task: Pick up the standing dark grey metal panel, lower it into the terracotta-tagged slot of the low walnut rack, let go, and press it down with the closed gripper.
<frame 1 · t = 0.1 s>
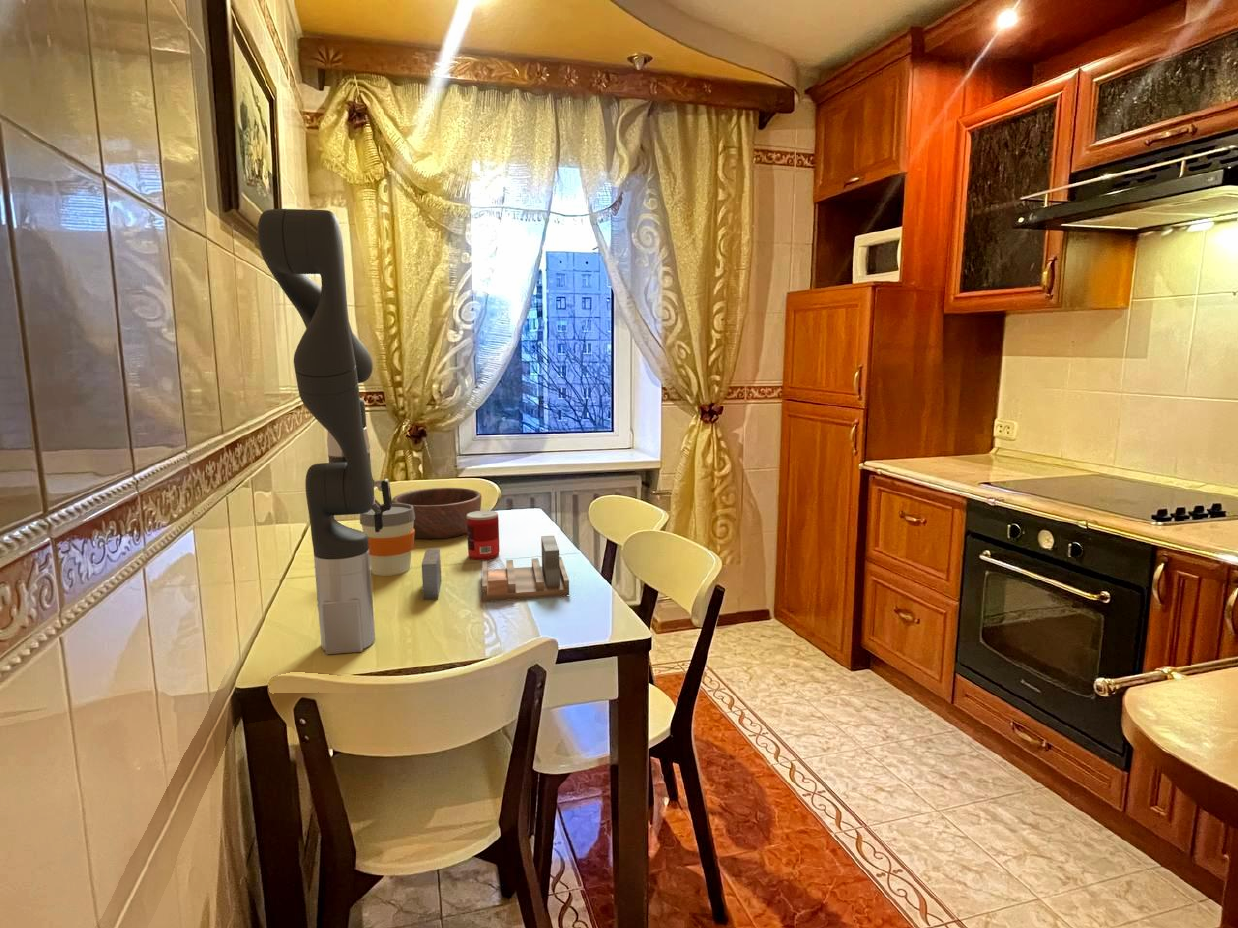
hand: (355, 532, 141), 17 cm above the table, tool pointing down, fingers open, 8 cm apart
reusable coffee cup: (391, 570, 173), on the table
canned food: (484, 556, 183), on the table
panel: (432, 590, 158), on the table
rack: (524, 585, 161), on the table
wooden bowl: (439, 531, 208), on the table
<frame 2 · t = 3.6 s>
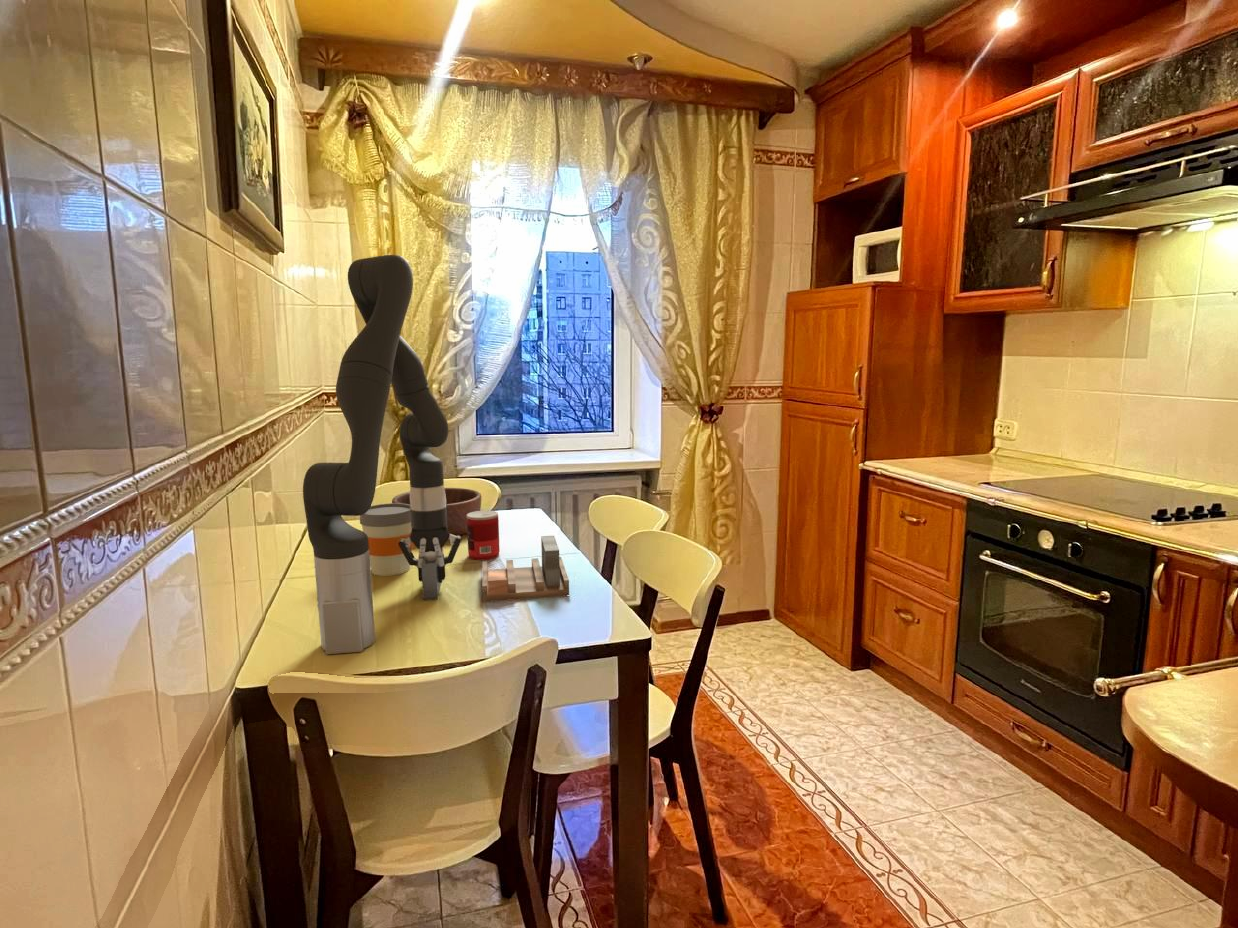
hand: (432, 581, 158), 2 cm above the table, tool pointing down, fingers closed on panel, 3 cm apart
panel: (432, 590, 158), on the table, touching gripper
everything else where it was.
when the fingers open (4 cm above the table, at t = 8.4 s): panel stays where it is, resting on rack.
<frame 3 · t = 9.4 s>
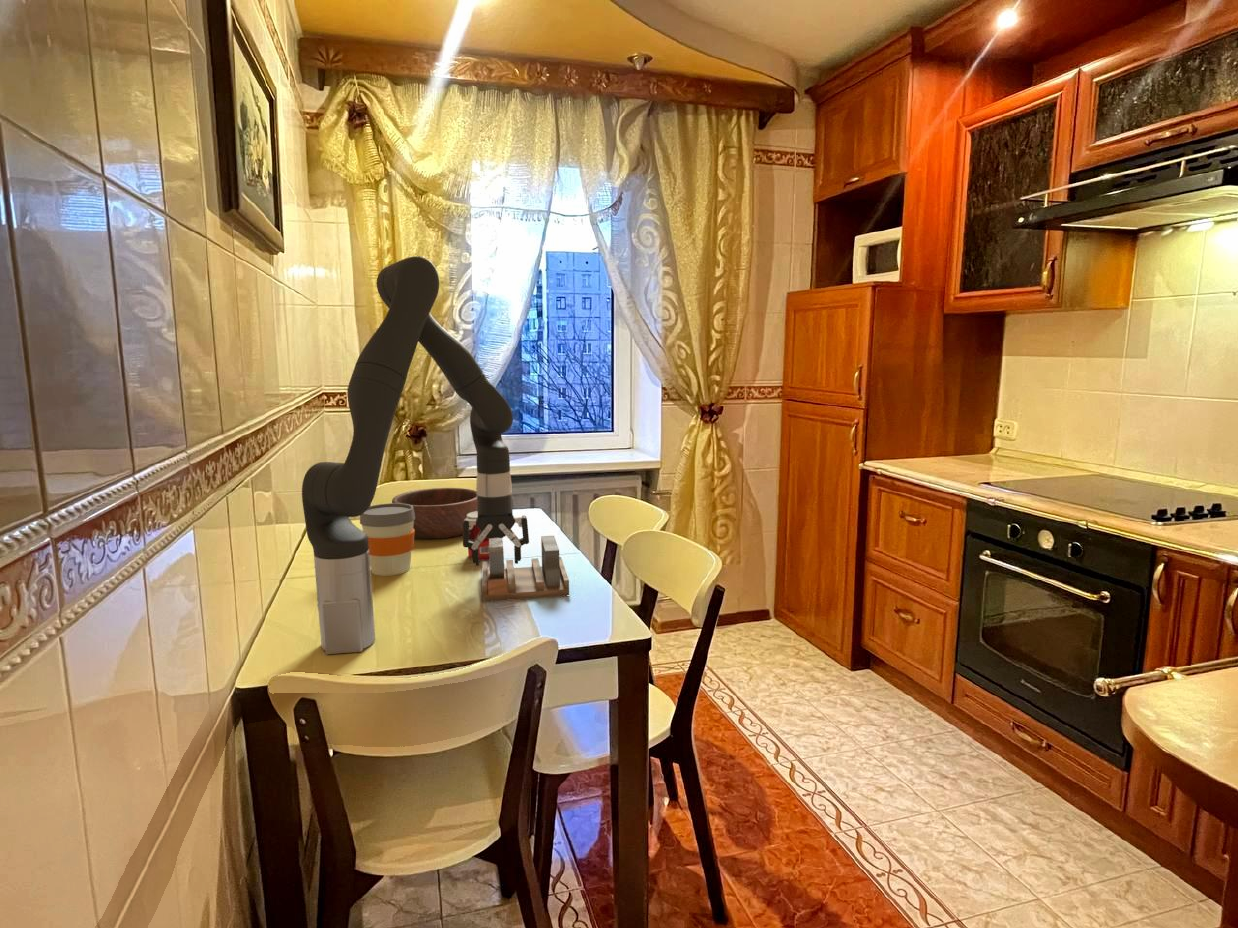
hand: (497, 563, 159), 5 cm above the table, tool pointing down, fingers open, 8 cm apart
panel: (497, 579, 159), point 2 cm above the table, touching rack
everything else where it was.
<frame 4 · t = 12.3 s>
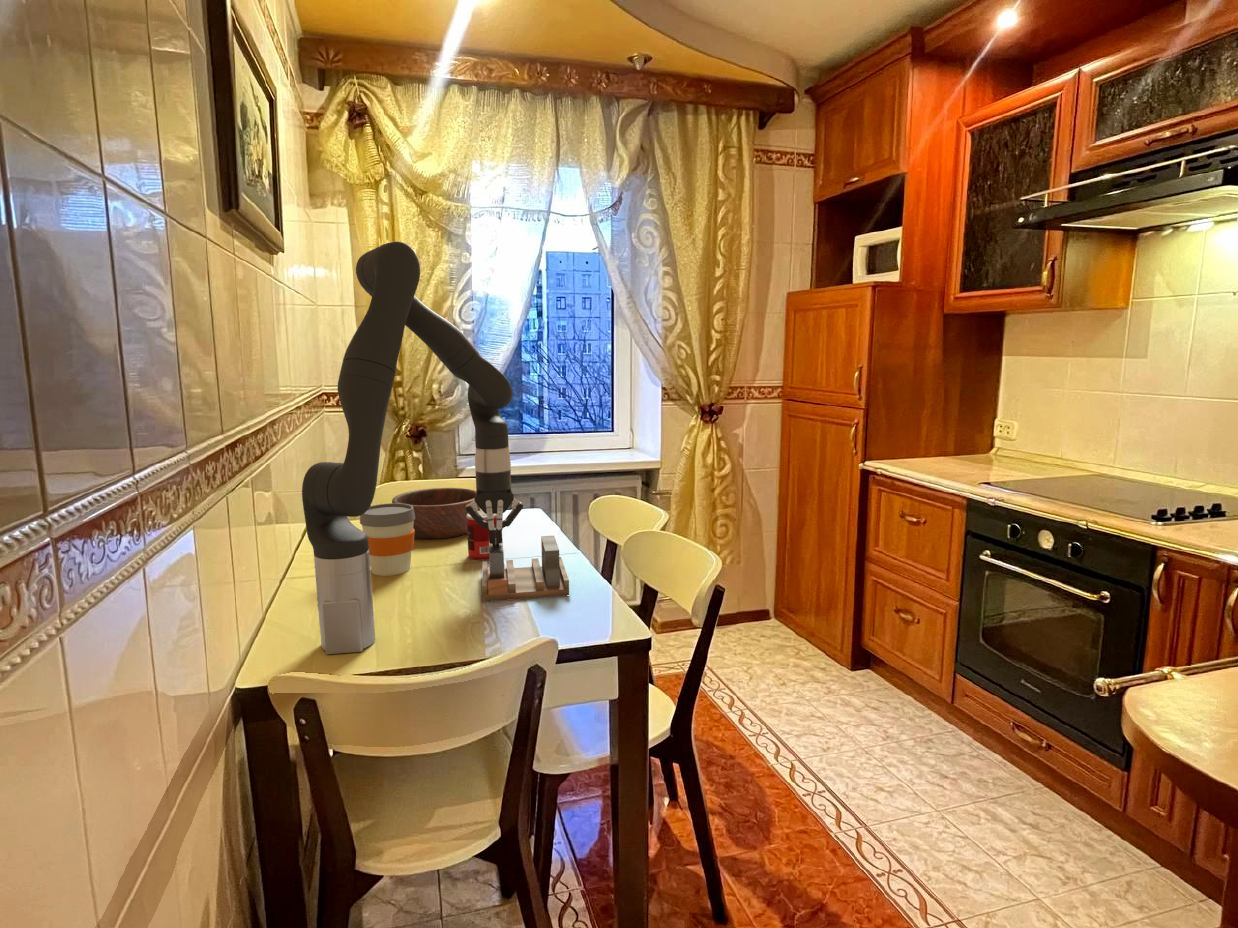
hand: (496, 545, 158), 10 cm above the table, tool pointing down, fingers closed
panel: (497, 579, 159), point 2 cm above the table, touching gripper, rack
everything else where it was.
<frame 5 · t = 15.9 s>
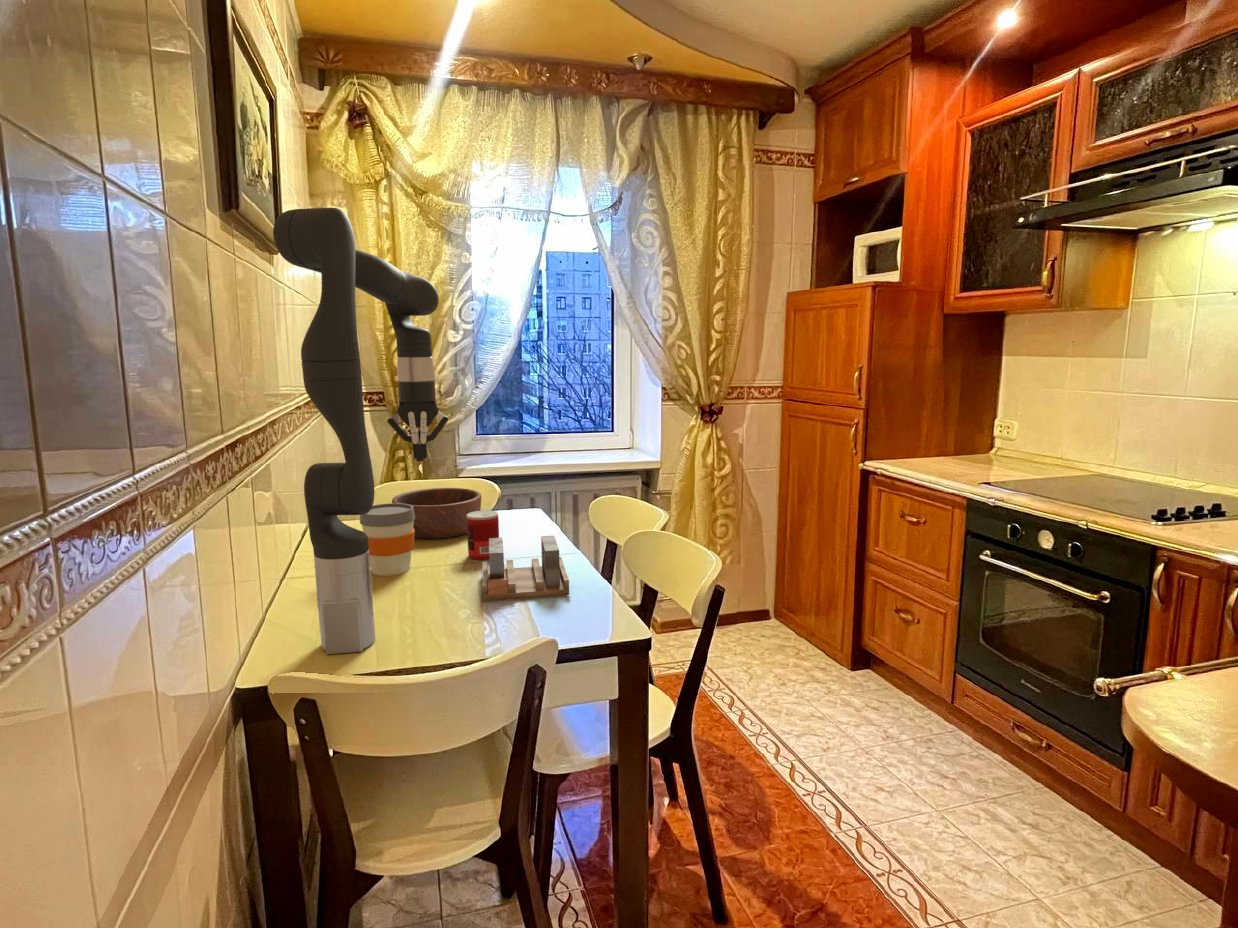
hand: (420, 460, 153), 29 cm above the table, tool pointing down, fingers closed
panel: (497, 579, 159), point 2 cm above the table, touching rack
everything else where it was.
at the end: panel 0.0 cm from the target spot on the rack, point 1.7 cm above the rack's base; panel tilted 0°; the gripper is holding nothing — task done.
